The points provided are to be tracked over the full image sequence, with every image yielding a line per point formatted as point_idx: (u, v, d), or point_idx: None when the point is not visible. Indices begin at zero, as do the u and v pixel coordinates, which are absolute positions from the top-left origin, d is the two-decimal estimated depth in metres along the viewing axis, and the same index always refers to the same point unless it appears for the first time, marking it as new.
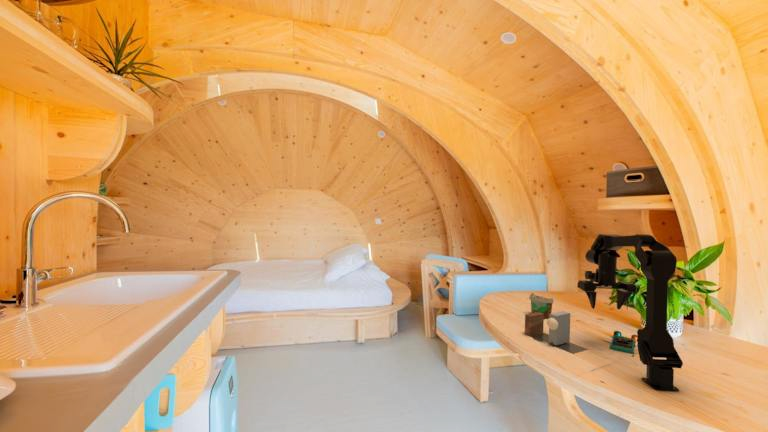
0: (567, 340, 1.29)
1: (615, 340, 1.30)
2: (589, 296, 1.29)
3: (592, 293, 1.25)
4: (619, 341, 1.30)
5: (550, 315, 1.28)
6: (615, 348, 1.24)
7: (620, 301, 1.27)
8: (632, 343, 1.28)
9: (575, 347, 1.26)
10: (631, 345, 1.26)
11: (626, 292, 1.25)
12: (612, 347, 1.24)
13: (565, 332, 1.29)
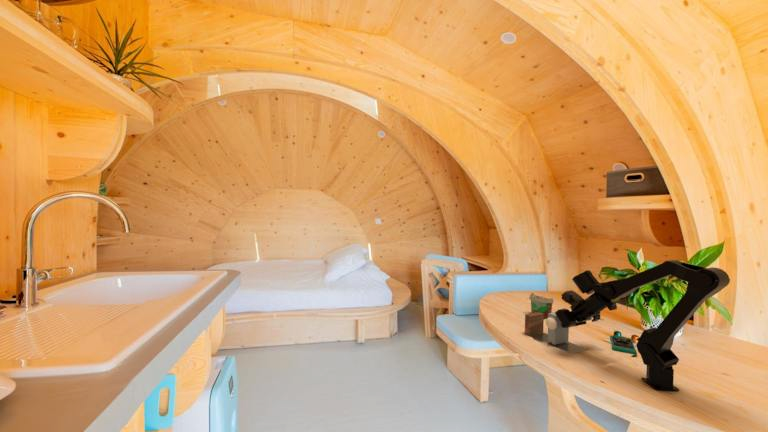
0: (566, 340, 1.30)
1: (615, 340, 1.30)
2: None
3: None
4: (618, 341, 1.30)
5: (549, 315, 1.29)
6: (618, 349, 1.23)
7: None
8: (631, 343, 1.28)
9: (575, 347, 1.26)
10: (631, 345, 1.26)
11: (582, 322, 1.23)
12: (615, 348, 1.23)
13: (563, 332, 1.29)
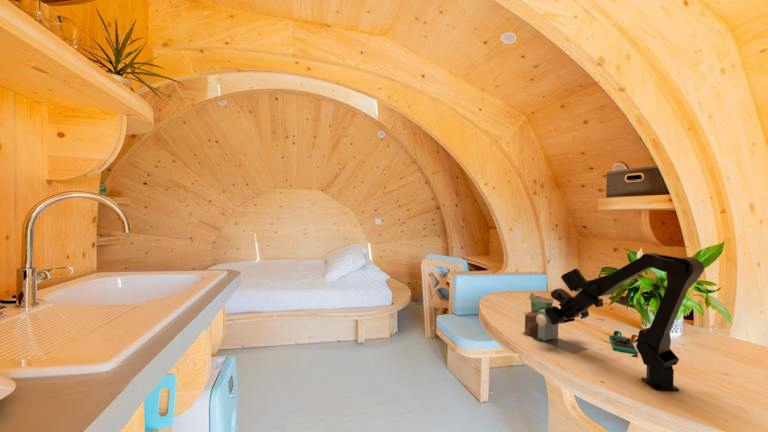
0: (556, 336, 1.34)
1: (615, 340, 1.30)
2: None
3: (564, 322, 1.25)
4: (618, 341, 1.30)
5: (539, 312, 1.33)
6: (619, 349, 1.23)
7: None
8: (631, 343, 1.28)
9: (575, 347, 1.26)
10: (632, 345, 1.26)
11: (570, 319, 1.27)
12: (616, 348, 1.23)
13: (553, 328, 1.33)
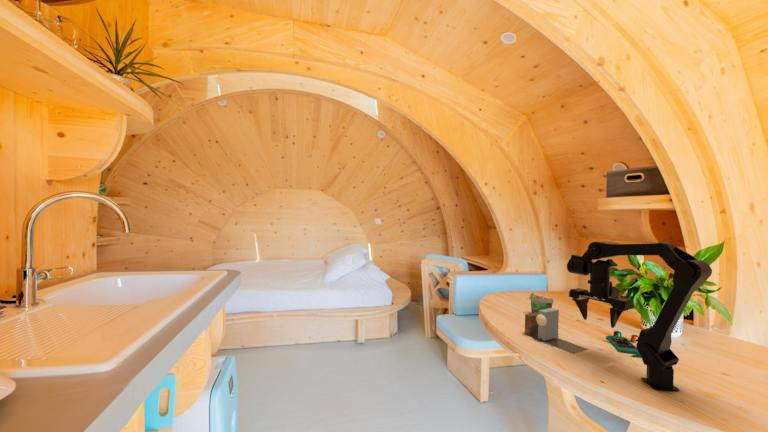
0: (556, 336, 1.34)
1: (614, 341, 1.29)
2: None
3: (575, 301, 1.21)
4: (617, 341, 1.30)
5: (539, 312, 1.33)
6: (624, 351, 1.21)
7: None
8: (630, 342, 1.28)
9: (575, 347, 1.26)
10: (632, 345, 1.26)
11: (613, 308, 1.10)
12: (621, 350, 1.22)
13: (553, 328, 1.33)
